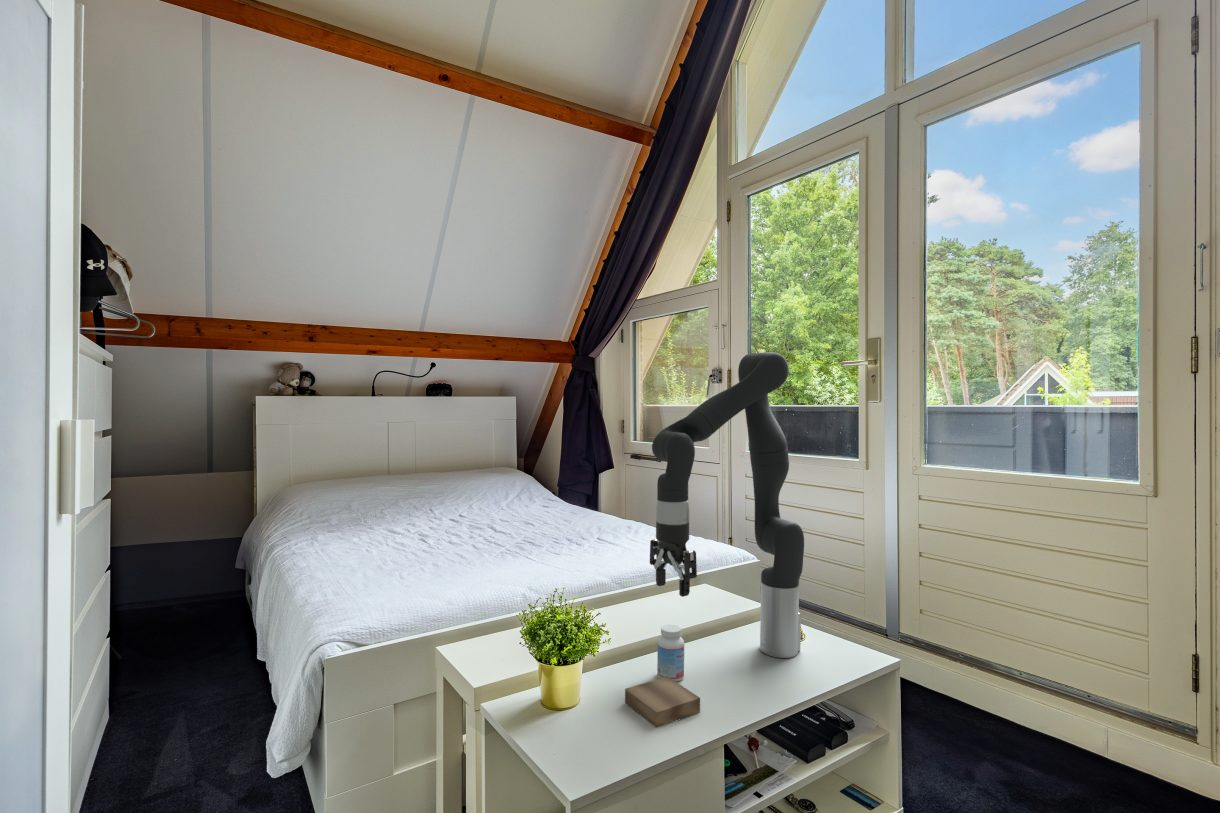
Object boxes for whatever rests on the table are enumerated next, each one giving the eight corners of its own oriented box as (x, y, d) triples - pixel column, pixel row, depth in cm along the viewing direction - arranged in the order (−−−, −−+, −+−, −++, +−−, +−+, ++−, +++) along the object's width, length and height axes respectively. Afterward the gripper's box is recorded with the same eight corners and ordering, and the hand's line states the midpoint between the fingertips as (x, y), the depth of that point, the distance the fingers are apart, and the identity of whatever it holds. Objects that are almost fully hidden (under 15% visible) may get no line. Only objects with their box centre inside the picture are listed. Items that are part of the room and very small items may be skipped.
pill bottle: (682, 684, 137) (683, 634, 137) (655, 681, 138) (656, 632, 138) (685, 672, 143) (685, 624, 143) (659, 669, 144) (659, 622, 144)
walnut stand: (667, 689, 134) (667, 676, 134) (700, 712, 125) (700, 697, 125) (625, 703, 128) (625, 688, 128) (656, 727, 119) (656, 712, 119)
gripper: (706, 523, 135) (705, 596, 136) (666, 512, 147) (666, 579, 148) (679, 527, 131) (678, 602, 132) (640, 515, 143) (640, 584, 144)
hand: (672, 590), depth 140 cm, fingers open, 8 cm apart
